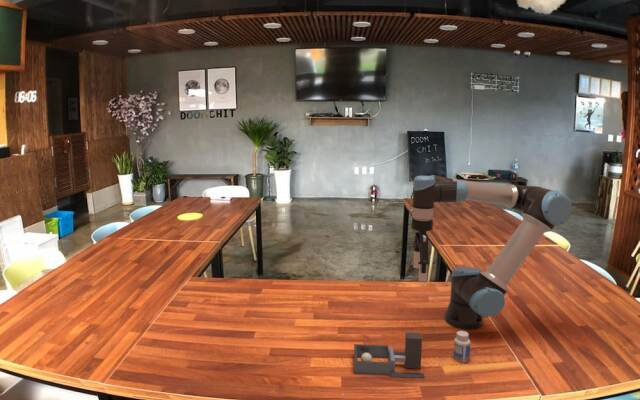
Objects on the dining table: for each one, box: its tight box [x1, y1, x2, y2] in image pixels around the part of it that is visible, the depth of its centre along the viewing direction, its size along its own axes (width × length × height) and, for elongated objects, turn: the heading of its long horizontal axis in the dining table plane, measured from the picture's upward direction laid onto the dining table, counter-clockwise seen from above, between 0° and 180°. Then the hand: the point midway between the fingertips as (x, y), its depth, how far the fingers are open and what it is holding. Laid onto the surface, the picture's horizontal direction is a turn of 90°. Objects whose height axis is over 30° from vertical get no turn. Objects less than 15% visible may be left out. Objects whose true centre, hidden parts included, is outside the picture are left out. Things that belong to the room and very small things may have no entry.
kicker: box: [388, 332, 423, 372], centre depth 152 cm, size 10×9×11 cm
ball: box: [360, 353, 373, 362], centre depth 153 cm, size 4×4×4 cm
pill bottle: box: [453, 330, 471, 363], centre depth 156 cm, size 6×5×10 cm
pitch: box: [353, 343, 425, 379], centre depth 153 cm, size 23×14×4 cm, turn 86°
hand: (419, 274), depth 165 cm, fingers open, 13 cm apart
